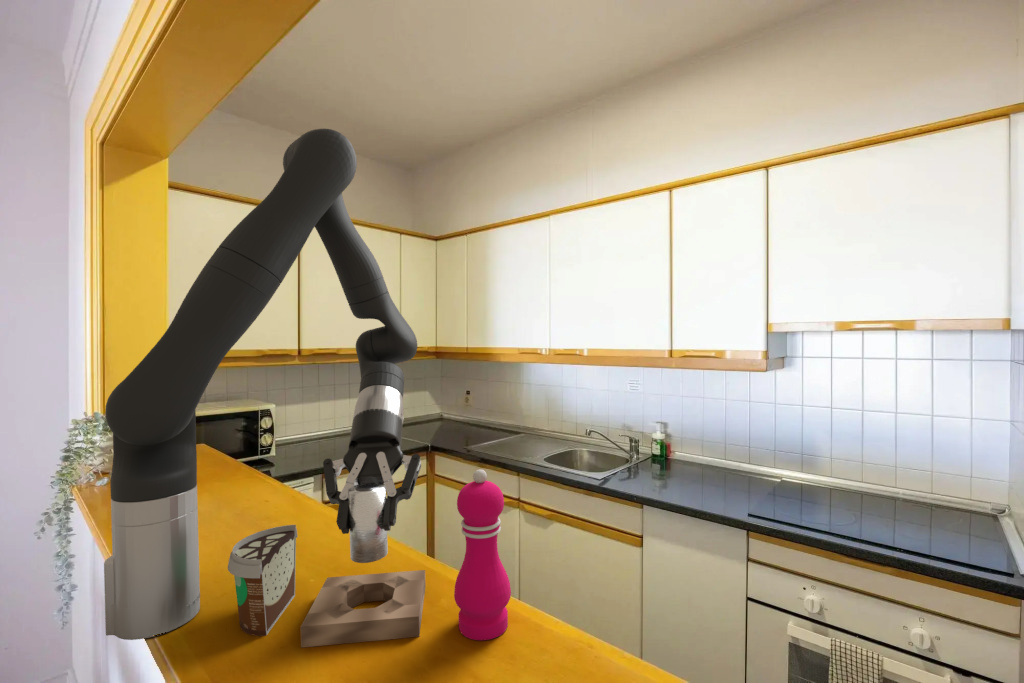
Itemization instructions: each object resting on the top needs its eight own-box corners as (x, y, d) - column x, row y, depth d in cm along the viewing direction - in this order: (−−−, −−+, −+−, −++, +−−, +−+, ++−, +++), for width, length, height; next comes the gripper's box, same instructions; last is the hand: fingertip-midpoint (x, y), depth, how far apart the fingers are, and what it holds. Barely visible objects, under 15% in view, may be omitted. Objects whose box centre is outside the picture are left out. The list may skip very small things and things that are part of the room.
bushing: (346, 564, 62) (344, 494, 61) (354, 548, 66) (352, 483, 66) (384, 561, 62) (382, 492, 62) (390, 545, 67) (388, 481, 67)
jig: (301, 647, 57) (300, 626, 57) (327, 594, 69) (327, 577, 69) (419, 636, 59) (418, 616, 59) (425, 586, 71) (425, 569, 71)
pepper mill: (460, 649, 56) (456, 480, 56) (450, 615, 63) (447, 465, 63) (518, 637, 58) (515, 474, 58) (503, 605, 65) (499, 460, 65)
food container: (256, 592, 70) (254, 525, 70) (298, 590, 71) (297, 523, 71) (208, 646, 58) (206, 564, 58) (261, 643, 58) (259, 561, 58)
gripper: (324, 409, 71) (301, 521, 59) (423, 404, 72) (419, 513, 60) (335, 437, 76) (315, 545, 64) (426, 433, 78) (423, 537, 66)
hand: (365, 529), depth 62 cm, fingers closed on bushing, 4 cm apart
